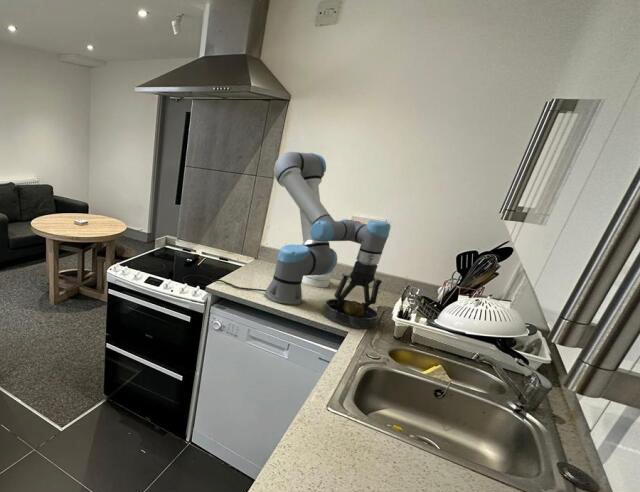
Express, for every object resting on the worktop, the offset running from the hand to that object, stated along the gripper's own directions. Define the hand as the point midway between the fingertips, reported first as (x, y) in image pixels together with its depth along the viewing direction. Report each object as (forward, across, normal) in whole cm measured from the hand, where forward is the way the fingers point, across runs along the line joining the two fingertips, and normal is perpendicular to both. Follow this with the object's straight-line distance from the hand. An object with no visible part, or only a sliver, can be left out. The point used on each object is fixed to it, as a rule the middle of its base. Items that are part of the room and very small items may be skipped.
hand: (348, 316), depth 158 cm
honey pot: (+1, -5, +42) cm, 42 cm away
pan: (+1, 0, 0) cm, 1 cm away
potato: (0, 0, 0) cm, 1 cm away
